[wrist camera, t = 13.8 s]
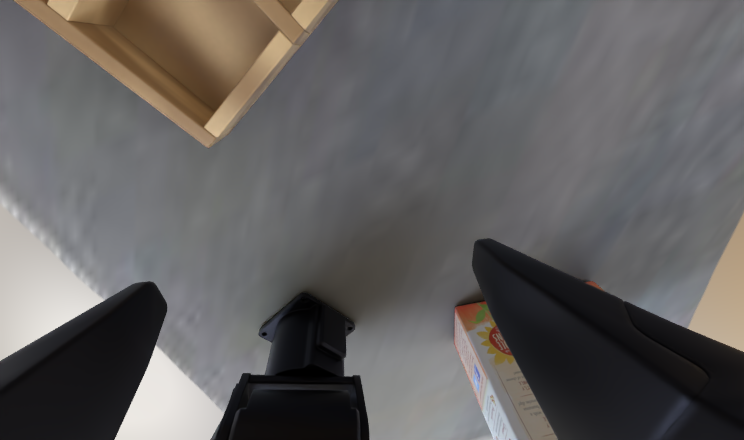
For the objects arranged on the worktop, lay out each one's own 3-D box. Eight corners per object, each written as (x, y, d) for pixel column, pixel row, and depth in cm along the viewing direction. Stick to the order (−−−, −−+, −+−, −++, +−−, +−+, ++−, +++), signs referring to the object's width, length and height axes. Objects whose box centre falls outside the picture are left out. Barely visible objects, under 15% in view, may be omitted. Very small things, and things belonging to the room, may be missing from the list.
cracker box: (452, 343, 31) (613, 747, 13) (452, 303, 28) (663, 754, 10) (580, 320, 31) (912, 682, 13) (594, 278, 28) (1047, 671, 10)
